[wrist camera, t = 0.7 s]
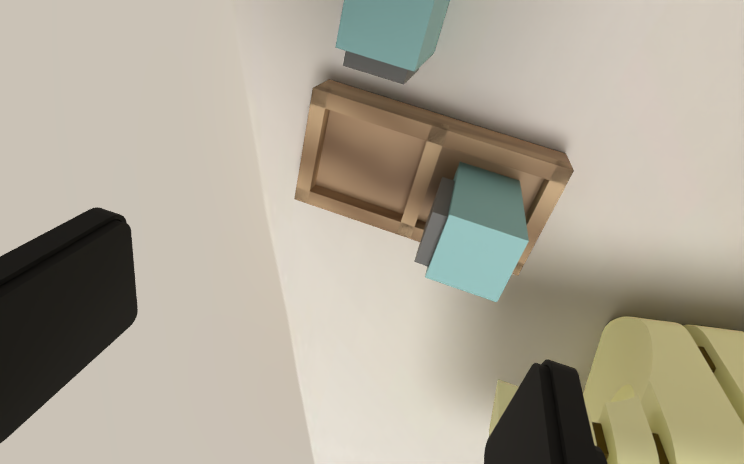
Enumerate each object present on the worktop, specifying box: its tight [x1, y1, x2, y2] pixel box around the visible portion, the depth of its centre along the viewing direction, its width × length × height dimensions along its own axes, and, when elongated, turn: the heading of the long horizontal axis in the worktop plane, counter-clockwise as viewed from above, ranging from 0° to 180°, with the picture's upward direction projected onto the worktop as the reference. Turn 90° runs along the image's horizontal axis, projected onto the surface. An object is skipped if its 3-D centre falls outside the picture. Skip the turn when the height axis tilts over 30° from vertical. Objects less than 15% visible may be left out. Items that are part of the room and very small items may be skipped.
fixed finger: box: [415, 162, 529, 302], centre depth 26 cm, size 4×5×8 cm
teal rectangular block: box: [336, 0, 450, 84], centre depth 23 cm, size 4×5×8 cm
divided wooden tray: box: [295, 79, 574, 275], centre depth 30 cm, size 8×16×3 cm, turn 77°
